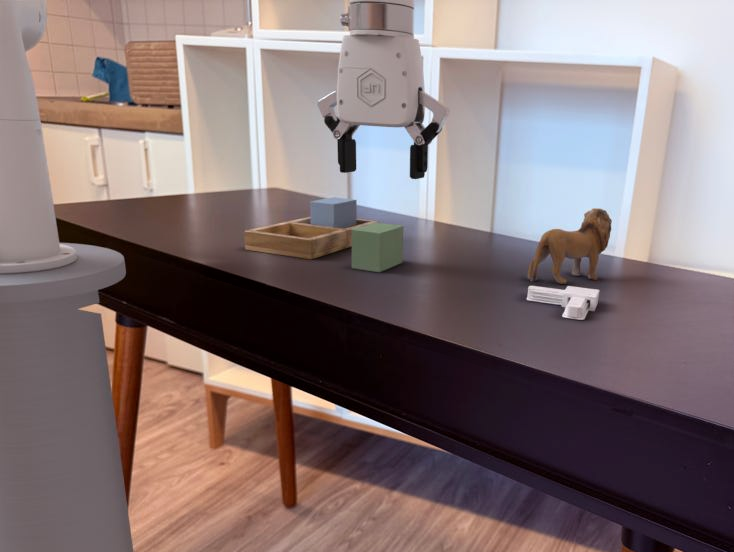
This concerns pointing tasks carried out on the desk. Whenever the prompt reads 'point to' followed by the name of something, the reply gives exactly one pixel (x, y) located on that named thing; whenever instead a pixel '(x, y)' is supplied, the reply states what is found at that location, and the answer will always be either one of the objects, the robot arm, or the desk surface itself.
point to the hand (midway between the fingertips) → (382, 175)
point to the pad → (377, 247)
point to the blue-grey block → (333, 212)
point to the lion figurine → (574, 245)
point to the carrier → (301, 238)
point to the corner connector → (567, 299)
